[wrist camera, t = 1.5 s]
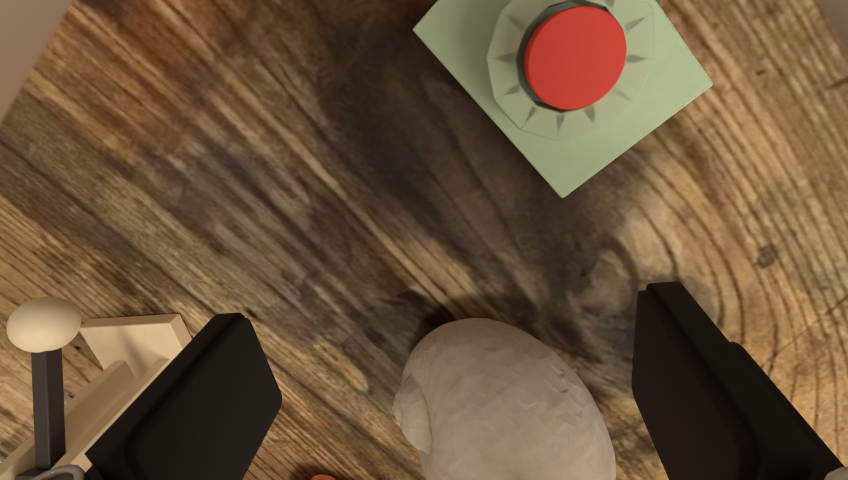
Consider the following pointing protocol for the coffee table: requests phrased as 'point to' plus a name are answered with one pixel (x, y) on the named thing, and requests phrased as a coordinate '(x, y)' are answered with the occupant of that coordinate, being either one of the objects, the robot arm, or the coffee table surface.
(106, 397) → the bracket
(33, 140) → the coffee table surface
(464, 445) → the seashell
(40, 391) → the lever
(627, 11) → the button block
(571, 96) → the button
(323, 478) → the teapot
